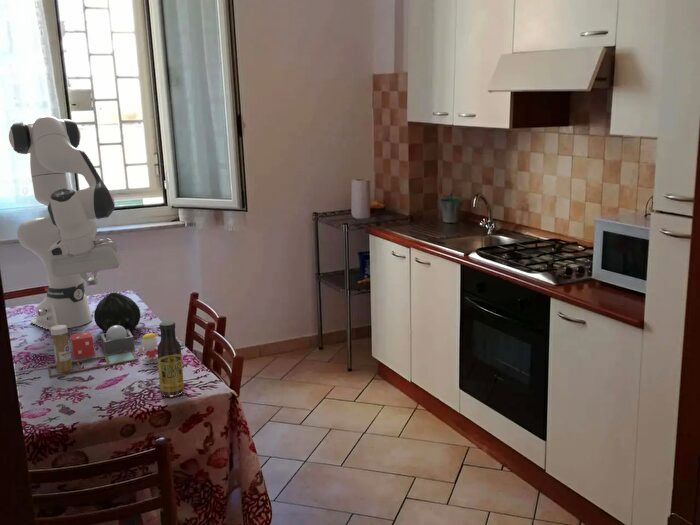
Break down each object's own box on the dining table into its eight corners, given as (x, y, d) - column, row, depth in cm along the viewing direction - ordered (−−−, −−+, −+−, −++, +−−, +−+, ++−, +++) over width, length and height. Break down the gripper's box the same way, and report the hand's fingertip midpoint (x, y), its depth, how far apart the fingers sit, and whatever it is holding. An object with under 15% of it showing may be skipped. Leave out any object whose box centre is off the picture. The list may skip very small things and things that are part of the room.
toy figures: (178, 352, 219) (175, 327, 217) (180, 357, 215) (177, 331, 213) (138, 359, 215) (135, 333, 213) (139, 364, 211) (136, 337, 209)
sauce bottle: (162, 400, 184) (154, 328, 180) (158, 391, 190) (150, 321, 185) (187, 395, 187) (180, 324, 182) (183, 386, 193) (175, 317, 188)
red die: (74, 358, 217) (72, 340, 216) (72, 352, 223) (69, 334, 221) (95, 354, 220) (92, 336, 218) (92, 349, 225) (90, 331, 224)
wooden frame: (49, 377, 203) (49, 376, 203) (47, 367, 211) (47, 366, 211) (138, 360, 214) (138, 358, 214) (133, 351, 221) (132, 349, 221)
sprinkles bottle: (68, 372, 207) (62, 329, 203) (53, 372, 207) (47, 329, 204) (75, 366, 211) (69, 324, 208) (61, 366, 211) (54, 324, 208)
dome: (103, 346, 224) (100, 327, 223) (118, 340, 230) (115, 321, 228) (117, 349, 221) (115, 330, 220) (132, 342, 227) (130, 323, 225)
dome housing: (106, 354, 220) (104, 342, 219) (102, 345, 228) (100, 334, 227) (134, 348, 224) (133, 336, 223) (129, 340, 231) (128, 329, 231)
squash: (130, 304, 253) (101, 281, 242) (155, 313, 244) (127, 289, 233) (106, 338, 247) (76, 315, 237) (131, 347, 238) (101, 324, 228)
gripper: (116, 233, 211) (129, 274, 217) (49, 243, 211) (63, 284, 217) (111, 241, 205) (124, 283, 211) (42, 252, 205) (57, 293, 211)
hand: (93, 284), depth 214 cm, fingers closed
